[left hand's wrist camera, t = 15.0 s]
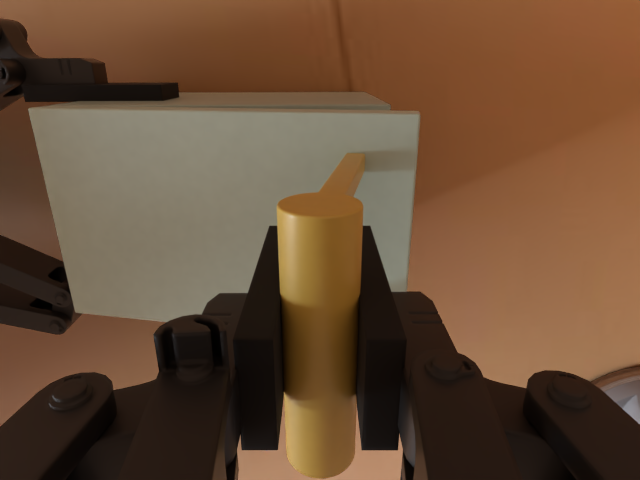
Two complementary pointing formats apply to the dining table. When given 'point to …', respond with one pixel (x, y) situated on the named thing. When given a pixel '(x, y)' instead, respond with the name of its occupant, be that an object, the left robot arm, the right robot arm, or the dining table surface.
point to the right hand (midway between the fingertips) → (182, 189)
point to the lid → (238, 229)
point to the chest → (257, 101)
